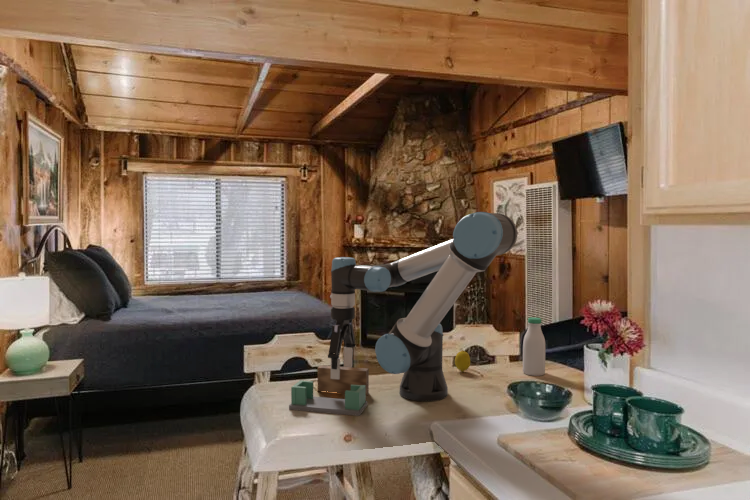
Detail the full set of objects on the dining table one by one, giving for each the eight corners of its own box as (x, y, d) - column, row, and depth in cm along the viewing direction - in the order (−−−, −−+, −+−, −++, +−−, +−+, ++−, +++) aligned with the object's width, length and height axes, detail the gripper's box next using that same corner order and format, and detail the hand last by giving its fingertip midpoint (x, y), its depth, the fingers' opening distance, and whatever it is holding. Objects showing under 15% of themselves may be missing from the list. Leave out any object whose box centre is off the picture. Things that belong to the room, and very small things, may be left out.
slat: (368, 393, 167) (368, 368, 167) (366, 396, 164) (366, 371, 164) (320, 389, 171) (320, 365, 171) (317, 392, 168) (317, 367, 168)
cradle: (367, 405, 156) (367, 384, 156) (359, 415, 147) (359, 393, 147) (300, 399, 161) (300, 379, 161) (289, 409, 152) (289, 388, 152)
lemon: (451, 372, 191) (452, 350, 191) (460, 369, 195) (460, 347, 195) (464, 375, 188) (465, 352, 187) (473, 372, 192) (473, 350, 191)
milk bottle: (547, 376, 186) (548, 320, 185) (525, 376, 186) (526, 320, 186) (541, 370, 194) (542, 316, 193) (520, 370, 194) (521, 316, 193)
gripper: (343, 299, 180) (342, 361, 181) (318, 312, 155) (317, 383, 157) (364, 301, 178) (363, 363, 179) (342, 313, 154) (341, 385, 155)
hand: (341, 372), depth 168 cm, fingers open, 13 cm apart
